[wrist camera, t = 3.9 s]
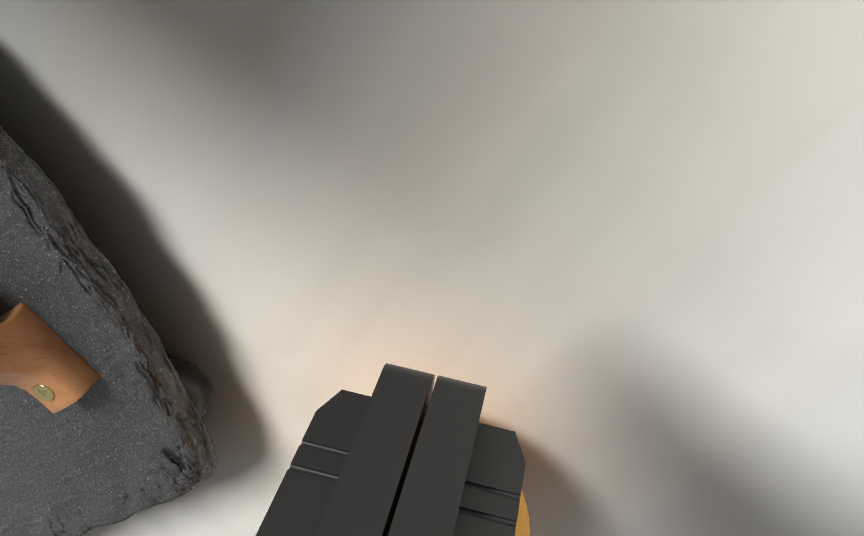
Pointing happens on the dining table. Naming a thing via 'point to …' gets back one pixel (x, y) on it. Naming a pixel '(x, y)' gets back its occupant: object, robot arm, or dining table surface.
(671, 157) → the dining table surface
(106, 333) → the serving board
